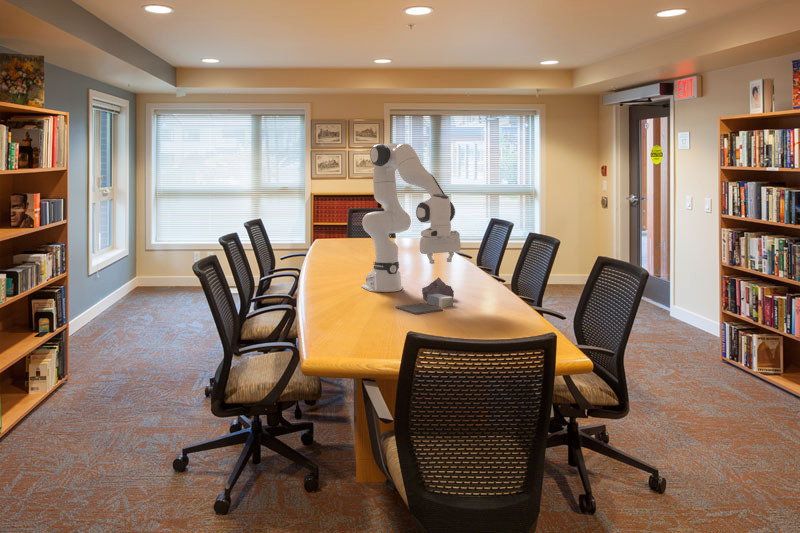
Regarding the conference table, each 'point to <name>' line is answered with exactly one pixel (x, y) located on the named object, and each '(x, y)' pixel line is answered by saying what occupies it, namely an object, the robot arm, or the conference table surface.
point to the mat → (418, 308)
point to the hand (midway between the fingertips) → (440, 262)
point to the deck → (440, 300)
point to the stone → (437, 289)
